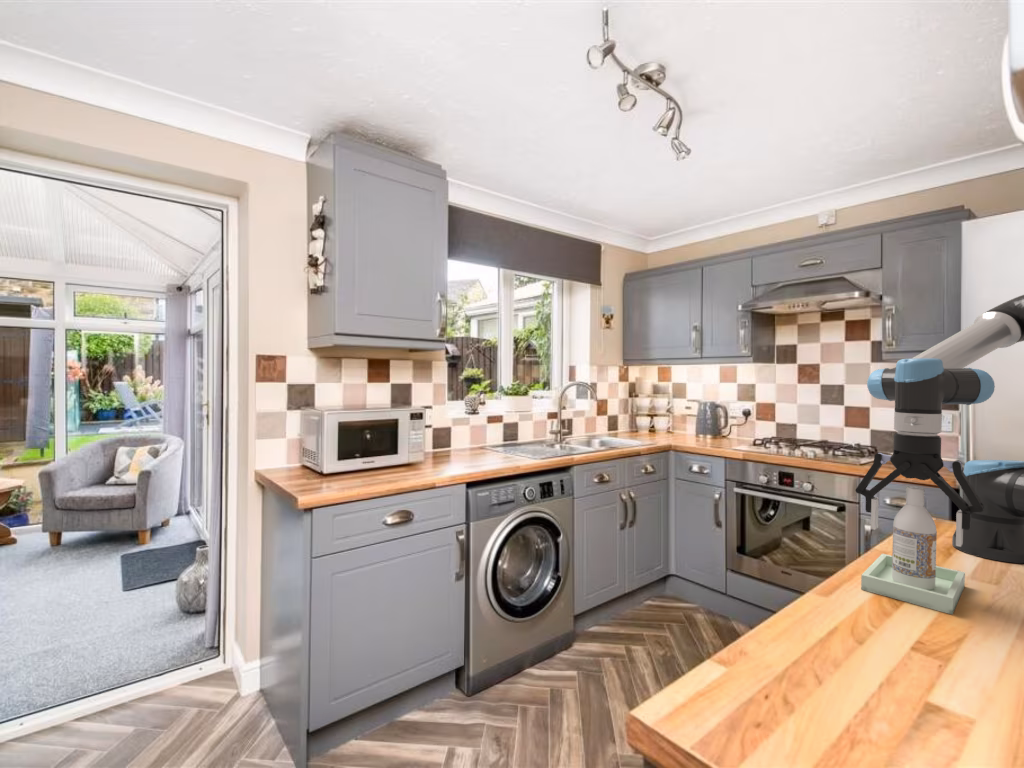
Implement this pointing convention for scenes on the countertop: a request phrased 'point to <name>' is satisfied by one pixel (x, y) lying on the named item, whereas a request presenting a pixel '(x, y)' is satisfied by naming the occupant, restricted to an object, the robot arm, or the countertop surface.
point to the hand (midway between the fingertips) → (914, 536)
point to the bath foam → (914, 543)
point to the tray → (938, 598)
